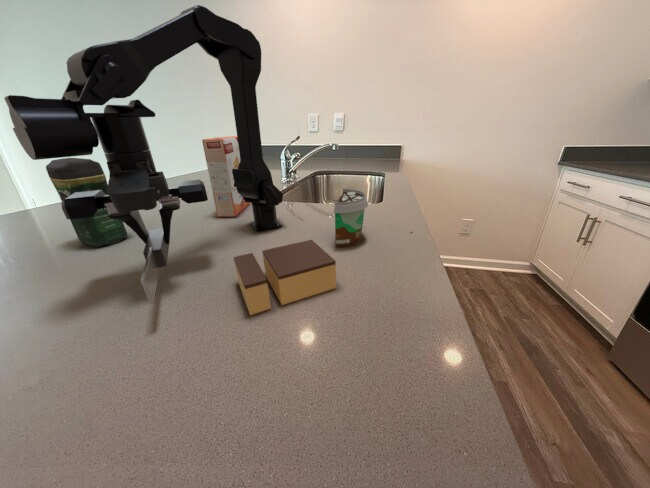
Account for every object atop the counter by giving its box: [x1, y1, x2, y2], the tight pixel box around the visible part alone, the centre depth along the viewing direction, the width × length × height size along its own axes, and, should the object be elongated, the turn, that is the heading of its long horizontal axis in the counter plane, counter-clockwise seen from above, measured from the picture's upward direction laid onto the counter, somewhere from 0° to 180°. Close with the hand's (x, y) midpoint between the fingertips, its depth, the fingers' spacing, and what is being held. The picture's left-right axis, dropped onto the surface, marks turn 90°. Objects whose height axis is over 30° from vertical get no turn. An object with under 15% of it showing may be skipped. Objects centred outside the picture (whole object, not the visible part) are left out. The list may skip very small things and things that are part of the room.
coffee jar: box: [45, 157, 128, 248], centre depth 57 cm, size 10×8×19 cm
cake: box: [261, 239, 337, 306], centre depth 42 cm, size 9×9×5 cm
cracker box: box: [201, 135, 250, 218], centre depth 75 cm, size 14×6×21 cm, turn 179°
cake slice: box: [233, 252, 272, 316], centre depth 39 cm, size 9×3×5 cm, turn 27°
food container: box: [333, 188, 369, 248], centre depth 56 cm, size 12×6×10 cm, turn 168°
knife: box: [140, 227, 170, 305], centre depth 39 cm, size 20×2×4 cm, turn 27°
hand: (159, 244), depth 45 cm, fingers closed on knife, 2 cm apart
